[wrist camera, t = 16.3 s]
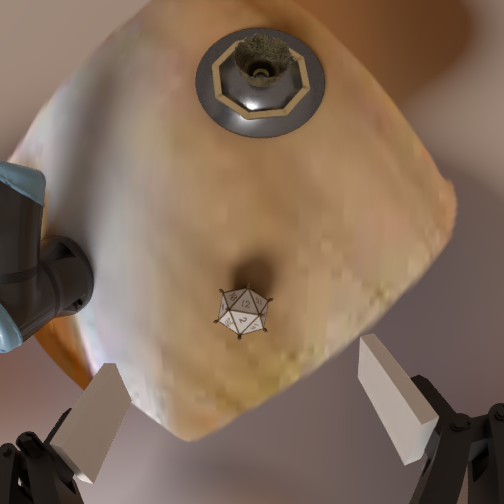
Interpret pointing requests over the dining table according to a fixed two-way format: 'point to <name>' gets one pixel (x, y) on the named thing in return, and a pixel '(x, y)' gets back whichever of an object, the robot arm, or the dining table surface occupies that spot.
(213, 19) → the dining table surface
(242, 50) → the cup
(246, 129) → the carrier plate
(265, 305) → the game die
